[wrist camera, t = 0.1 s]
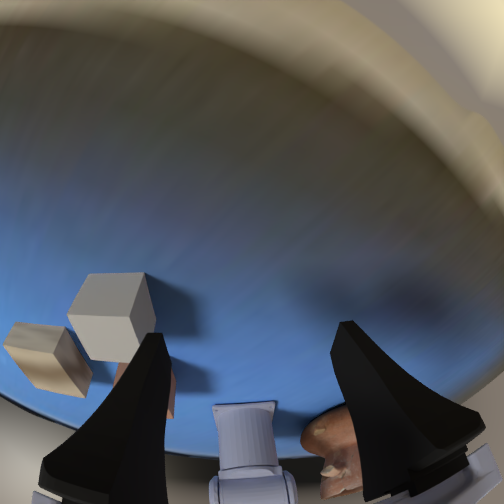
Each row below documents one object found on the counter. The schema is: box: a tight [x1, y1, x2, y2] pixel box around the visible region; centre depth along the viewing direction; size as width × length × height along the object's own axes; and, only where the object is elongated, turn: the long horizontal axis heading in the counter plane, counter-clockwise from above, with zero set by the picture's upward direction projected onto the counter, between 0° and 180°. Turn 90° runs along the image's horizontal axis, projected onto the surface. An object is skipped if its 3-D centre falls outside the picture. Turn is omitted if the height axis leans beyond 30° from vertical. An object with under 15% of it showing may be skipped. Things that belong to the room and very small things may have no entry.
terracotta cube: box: [113, 362, 176, 419], centre depth 25 cm, size 5×5×5 cm
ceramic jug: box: [300, 405, 363, 500], centre depth 32 cm, size 18×14×14 cm
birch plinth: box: [3, 322, 93, 398], centre depth 23 cm, size 8×8×4 cm
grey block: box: [67, 273, 156, 363], centre depth 19 cm, size 5×5×5 cm
